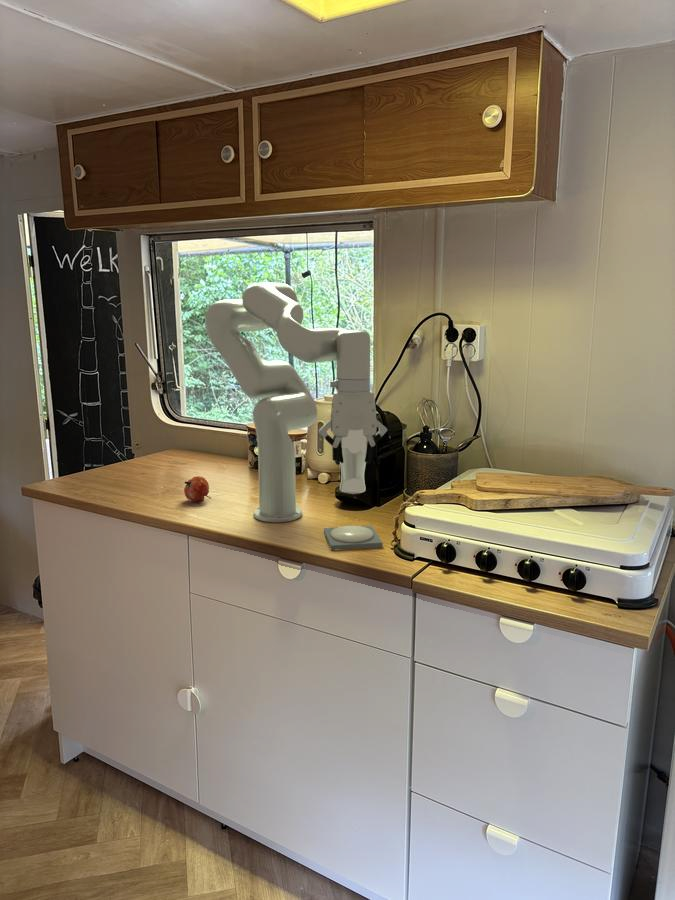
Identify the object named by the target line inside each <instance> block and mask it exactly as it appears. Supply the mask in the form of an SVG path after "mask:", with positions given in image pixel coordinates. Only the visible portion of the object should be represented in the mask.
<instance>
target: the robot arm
mask: <svg viewBox="0 0 675 900" xmlns="http://www.w3.org/2000/svg"><path fill="white" fill-rule="evenodd" d="M295 291H296V290H294V288H293V287H292V286H290V285H288V284H286V283H282V282H257V283H256V282H255V283H253V284H250V285H249V286H248V287H247V288H245V289H244V291H243V292H242V295H241V298H238V299H237V298H235V299H234V298H233V299H232V298H231V299H229V298H228V299H227V298H226V299H222V300H218V301H216V302H213V303H212V304H211V305H210V306H209V307H208V308H207V311H206V313H205V328H206V331H207V335H208V338H209V340H210V342H211V344H212V346H213V347H214V348H215V349H216V351H217V352H218V353H219V356H221V357H222V358H223V360H224V361H225V363H226V364H227V366H228V367H229V370H230V371H231V373H232V375H233V377H234V379H235V380H236V382H237V383H238V385H239V387H240V389H241V390H242V392H243V394H244V395H245V396H247V398H249V399H251V400H259V401H258V402H257V403H256V404H255V406H254V407H253V411H252V420H253V423H254V428H255V429H254V430H255V434H256V442H257V458H258V460H257V461H258V497H259V498H258V499H259V504H258V505H259V507H256V508H255V509H254V510H253V517H254V518H255V519H257V520H258V521H261V522H264V523H265V522H267V523H285V522H286V523H287V522H291V521H295V520H298V519H299V518H300V517H301V516H302V515H303V512H302V511H303V510H302V509H301V507H300V506H299V507H298V506H297V503H296V497H297V494H296V493H297V492H296V491H297V489H296V449H295V445H294V442H293V440H292V438H291V437H290V435H289V432H291V431H297V430H301V429H305V428H308V427H310V426H312V425H313V424H314V423H315V422H316V420H317V417H318V409H317V404H316V401H315V400H314V397H313V396H312V394H311V392H310V391H309V389H308V387H307V386H306V384H305V382H304V381H303V379H302V378H301V376H300V375H299V372H298V371H297V370H296V368H295V367H294V366H293V365H292V364H291V363H289V362H287V361H284V360H265V359H263V358H262V357H261V355H260V354H259V353H258V351H257V349H256V347H255V346H254V344H253V343H252V342H251V341H250V340H248V339H247V338H245V336H243V335H241V334H240V332H241V333H242V332H245V333H246V332H256V331H257V332H258V331H263V330H266V329H268V328H270V329H272V331H275V332H276V337H277V340H278V343H279V344H280V346H281V347H282V349H284V351H286V352H287V353H288V354H290V355H292V356H293V357H294V358H296V359H297V360H300V361H301V362H304V363H308V364H315V363H324V362H325V363H327V362H335V361H336V378H335V380H333V381H330V382H329V383H330V384H329V386H330V388H334V389H336V391H333V394H332V400H331V409H330V410H331V411H330V419H328V421H326V423H324V424H323V425H322V426H321V427H320V428H319V429H318V433H319V434H320V436H321V437H323V438H324V439H325V441H326V442H327V443H328V444H330V445H331V447H332V449H331V451H332V455H331V456H332V461H333V462H335V464H336V465H337V466H339V465H340V448H339V442H340V440H341V437H346V436H348V431H349V430H358V429H363V435H364V436H368V455H367V460H366V464H372V460H373V459H374V447H375V446H376V444H377V443H378V442H379V441H380V440H381V439H382V437H383V436H384V435H385V434H386V433H387V432H388V428H387V427H386V426H385V425H383V423H381V422H380V421H379V420H378V419H377V408H376V399H375V394H374V391H371V335H370V333H369V332H367V331H365V330H358V329H356V330H355V329H353V330H351V329H349V330H348V329H346V328H345V329H344V328H341V327H330V328H327V327H326V328H324V327H323V328H313V329H312V328H307V327H305V326H303V325H302V323H303V320H304V310H303V308H302V305H300V303H299V302H298V296H297V293H296V292H295ZM377 428H378V429H377ZM328 430H330V431H331V433H332V434H333V437H332V436H330V435H329V434H328ZM377 430H378V431H377Z"/></svg>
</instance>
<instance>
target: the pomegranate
mask: <svg viewBox="0 0 675 900" xmlns="http://www.w3.org/2000/svg"><path fill="white" fill-rule="evenodd" d="M184 485H185V486H184V488H183V491H184V495H185V497H186V499H187V500H189V501H191V502H192V503H196V504H200V503H202V502H204V500H205V497H207V498H209V499H211V500H212V497H211V496H209V495H208V494H209V493H210V485H209V481H207V480H206V478H205V477H203V476H194V477H191V478H190V479H188V480H187V481H184Z"/></svg>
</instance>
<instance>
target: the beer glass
mask: <svg viewBox="0 0 675 900" xmlns="http://www.w3.org/2000/svg"><path fill="white" fill-rule="evenodd" d="M339 448H340V464H339V465H340V471H341V472H340V473H341V479H340V480H341V481H340V484H339V491H340V492H341V493H345V494H361V493H364V492H366V484H365V483H366V482H365V471H366V465H367V462H366V460H367V455H368V436H364V435H363V429H358V430H349V431H348V436H346V437H341V440H340V442H339Z"/></svg>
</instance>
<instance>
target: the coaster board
mask: <svg viewBox="0 0 675 900" xmlns="http://www.w3.org/2000/svg"><path fill="white" fill-rule="evenodd" d="M324 534H325V535H324ZM323 535H324V537H325V540H326V539H327V540H326V542H327V541H328V542H327V544H329V545H328V546H330V547H329V549H330V548H331V549H330V551H336V550H335V549H348V550H353V549H352V548H366V549H380V547H382V548H383V541H382V540H381V537H380V536H379V535H378V533H377V531H376V530H375V528H374V527H373V525H343V526H339V527H337V526H336V527H323Z"/></svg>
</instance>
